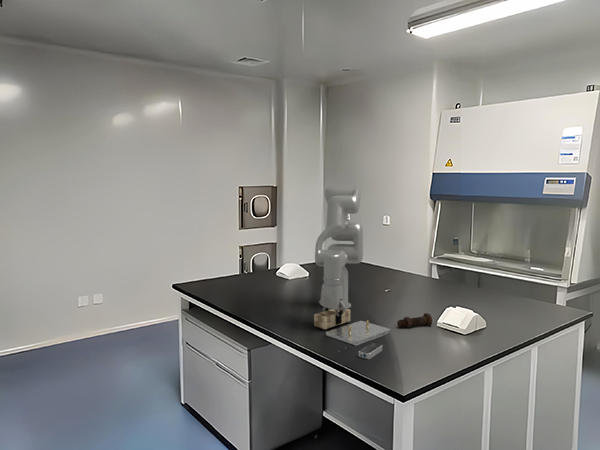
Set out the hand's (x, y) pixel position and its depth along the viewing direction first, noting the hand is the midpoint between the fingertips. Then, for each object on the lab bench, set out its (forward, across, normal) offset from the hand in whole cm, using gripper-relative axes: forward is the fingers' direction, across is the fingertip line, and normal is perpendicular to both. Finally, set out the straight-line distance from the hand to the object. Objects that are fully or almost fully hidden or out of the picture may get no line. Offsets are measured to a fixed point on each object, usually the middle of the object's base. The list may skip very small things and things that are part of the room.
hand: (332, 321), depth 200 cm
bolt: (+2, +25, +25) cm, 35 cm away
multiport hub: (+2, +32, -13) cm, 35 cm away
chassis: (+1, +15, 0) cm, 15 cm away
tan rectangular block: (+1, 0, 0) cm, 1 cm away
